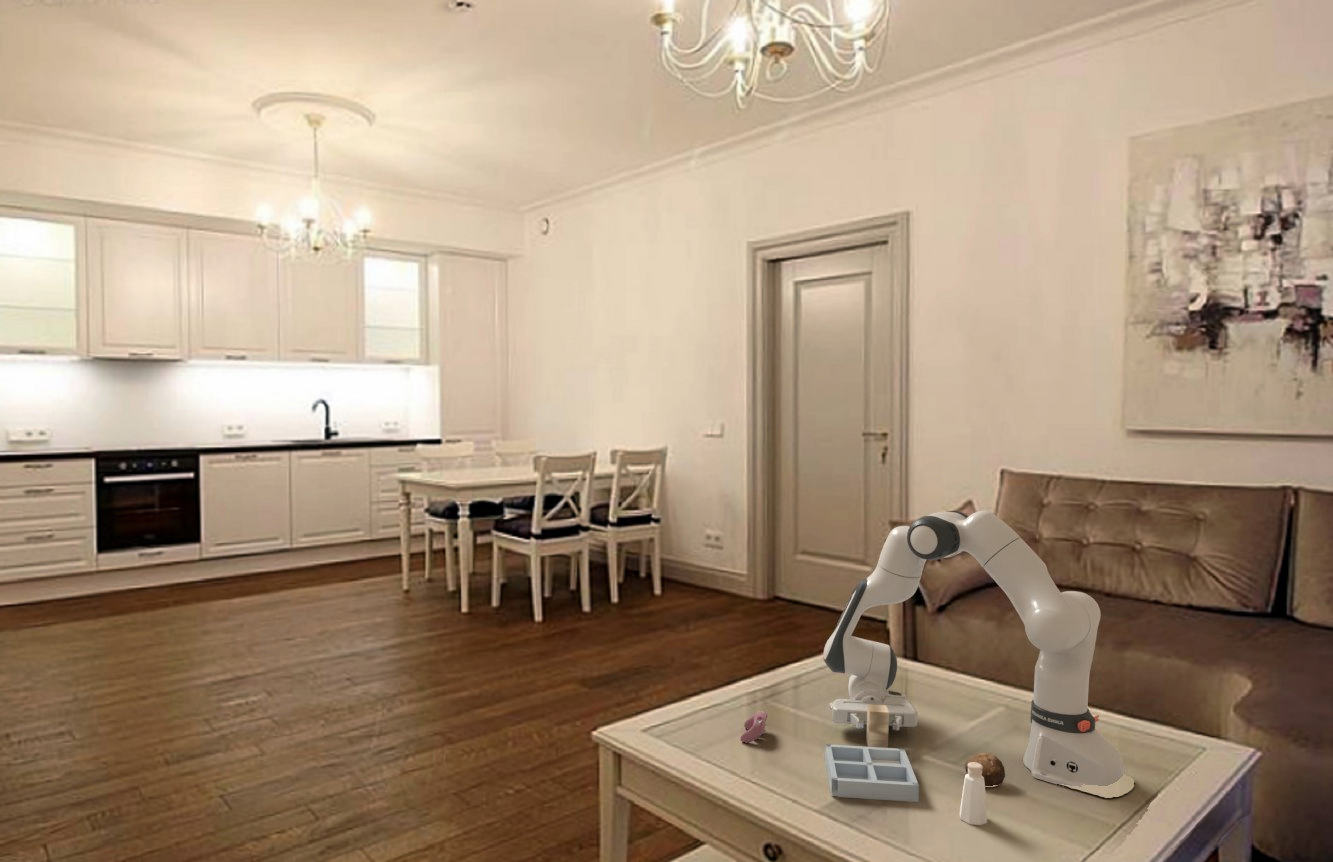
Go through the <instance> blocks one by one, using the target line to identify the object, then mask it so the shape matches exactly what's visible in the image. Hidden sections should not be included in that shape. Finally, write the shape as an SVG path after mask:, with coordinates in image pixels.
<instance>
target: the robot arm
mask: <svg viewBox="0 0 1333 862" xmlns="http://www.w3.org/2000/svg"><path fill="white" fill-rule="evenodd" d="M963 552H966V553H968V554H969V555H971V556H972V557H973V558H974V559H975V560H976V561H977V562H978V564H979V565H980V566H981V568H983V569H984V570H985V572H986V573H987V574H988V575H989V576H990V578H991V579H993V581H994V582H995V583H996V584H997V585H998V586H999V588H1001V590H1002V591H1003V592H1004V593H1005V594H1006V596H1007V598H1008V599H1009V601H1010V602H1011V604H1012V606H1013V608H1014V609H1015V611H1016V612H1017V614H1018V616H1019V618H1020V619H1021V621H1022V623H1023V625H1024V629H1025V634H1026V636H1027V638H1028V640H1029V642H1030V643H1031V644H1032V645H1033V646H1034V647H1035V648H1037V649H1039V654H1038V658H1037V661H1036V663H1035V666H1034V678H1033V679H1034V684H1033V699H1032V700H1031V703H1030V723H1031V726H1030V731H1029V732H1030V734H1029V739H1028V742H1027V743H1028V744H1027V747H1026V751H1025V753H1024V756H1023V759H1022V762H1023V764H1024V765H1025V767H1026V768H1027V769H1029V770H1030V772H1031V776H1032V777H1033V778H1034V779H1036V780H1037V779H1038V780H1041V781H1045V782H1048V783H1051V784H1054V785H1057V784H1064V785H1070V786H1079V787H1082V786H1081V785H1083V784H1085V785H1098V786H1108V785H1110V784H1113V783H1115V782H1117V781H1118V780H1119V779H1120V778H1121V777H1122V776H1123V774H1124V773H1125V770H1124V769H1125V767H1124V762H1123V757H1122V754H1121V752H1119V751H1118V749H1117V748H1116V747H1115V746H1114V745H1112V744H1111V743H1110V742H1109V741H1108V739H1106V738H1105V736H1104V735H1102V734H1101V733H1100V732H1099V731H1098V729H1096V723H1097V722H1098V721H1099V720H1100V719H1099V717H1100V715H1095V716H1093V714H1092V713H1091V711H1090V710H1089V707H1088V703H1089V687H1090V685H1089V684H1090V673H1091V667H1092V664H1093V658H1094V653H1095V649H1096V648H1095V647H1096V642H1097V635H1098V628H1099V625H1100V621H1101V615H1102V614H1101V609H1100V607H1099V604H1098V602H1097V601H1096V600H1095V599H1094V598H1093V597H1092V596H1091V595H1088V594H1087V593H1085V592H1082V591H1075V590H1067V591H1062V592H1061V591H1060V589H1059V588H1058V586H1057V585H1056V584H1055V581H1054V580H1053V579H1052V577H1051V575H1050V573H1049V571H1048V568H1047V567H1048V566H1047V565H1046V563H1045V562H1044V561H1043V560H1042V559H1041V557H1040V556H1039V555H1037V553H1036V552H1035V551H1034V550H1033V549H1032V548H1031V547H1030V546H1029V545H1028V544H1027V542H1025V541H1024V539H1023V538H1022V537H1021V536H1020V535H1019V534H1018V533H1017V532H1016V531H1015V530H1014V529H1013V528H1012V527H1011V526H1009V525H1008V523H1006V522H1004V521H1003V519H1001V518H1000V517H999V516H997V515H996V514H994V513H993V512H991V511H989V510H978V511H976V512H973V513H971V514H970V515H967V514H966V513H964V512H962V511H958V510H947V511H937V512H933V513H930V514H928V515H923V516H920V517H919V518H917V519H916V520H915V521H913V523H911V524H910V526H909V525H899V526H896V527H894V528H892V529H891V531H890V532H889V534H888V536H887V537H886V540H885V541H884V544H883V547H882V549H881V551H880V554H879V557H878V558H879V559H878V561H877V565H876V567H875V569H874V570H873V572H872V573H870V575H869V576H868V577H866V578H863V579H860V580H859V581H858V583H857V584H856V586H855V587H854V589H853V591H852V593H851V594H850V597H849V599H848V600H847V603H846V605H845V607H844V609H843V610H842V613H841V615H840V617H839V619H838V621H837V624H836V625H835V627H834V629H833V631H832V632H831V634H830V636H829V638H828V639H827V641H826V642H825V644H824V648H823V662H824V663H825V664H826V666H827V668H829V670H830V671H831V672H832V673H839V674H847V675H850V676H849V679H848V685H847V686H848V688H847V689H848V695H849V698H837V699H835V700H834V701H833V702H829V703H828V704H829V705H828V707H829V709H830V710H831V711H832V714H831V715H832V718H831V719H832V721H833V722H835V723H836V724H846V725H847V724H851V725H852V726H853V725H854V726H855V727H856V729H864V725H865V726H867V704H870V705H886V706H887V709H888V711H889V726H888V727H891V729H892V731H900V728H901V727H907V728H914V727H917V726H918V720H919V719H918V718H919V717H918V716H919V715H918V711H917V709H916V707H915V706H914V704H913V703H912V702H911V701H910V700H908V699H907V695H906V693H902V692H897V691H893V690H889V688H891V686H892V685H894V682H895V680H896V677H897V671H898V659H897V655H896V653H895V651H894V650H893V648H892V647H891V645H890V644H886V643H882V642H877V641H874V640H869V639H866V638H865V639H864V638H860V637H857V636H854V635H853V633H854V631H855V628H856V627H857V624H858V622H859V620H860V618H861V616H862V615H863V613H864V612H865V611H866V610H868V609H870V608H874V607H878V606H885V605H886V606H887V605H895V604H901V603H903V602H906V601H907V600H908V599H911V597H913V596H914V594H915V593H916V592H917V590H918V588H919V584H920V581H921V578H922V575H923V571H924V567H925V565H926V562H927V561H937V560H941V559H944V558H945V559H946V558H948V559H949V558H952V557H953V556H956V555H958V554H961V553H963Z"/></svg>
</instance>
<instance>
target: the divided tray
mask: <svg viewBox="0 0 1333 862" xmlns="http://www.w3.org/2000/svg"><path fill="white" fill-rule="evenodd" d="M824 763H825V768H826V773H827V779H828V784H829V791H830V796H831V797H832V796H838V797H837V798H850V799H851V798H852V799H863V800H864V799H865V800H878V801H879V800H881V801H895V802H909V803H911V802H913V803H919V798H920V797H919V796H920V794H919V793H920V784H919V782H918V780H917V777H916V775H915V772H914V769H913V767H912V765H911V762H910V760H909V757H908V755H907V753H906V750H905V748H893V747H888V748H880V747H868V746H862V745H861V746H859V745H846V744H845V745H844V744H830V743H829V744H827V743H826V744H825V743H824Z"/></svg>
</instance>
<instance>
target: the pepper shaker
mask: <svg viewBox="0 0 1333 862" xmlns="http://www.w3.org/2000/svg"><path fill="white" fill-rule="evenodd" d="M982 769H983V766H982V765H981V764H979V763H976V762H970V763H968V774H967V773H966V774H965V776H964V780H963V787H962V792H961V794H962V795H961V799H960V800H961V801H960V807H959V818H960V820H961V821H963V822H964V823H966V824H968V825H974V826H982V825H984V824H985V825H986V824H987V823H988V815H987V814H988V813H987V801H986V800H987V799H986V798H987V796H986V787H985V782H984V777H983V776H982Z"/></svg>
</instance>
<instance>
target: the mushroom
mask: <svg viewBox="0 0 1333 862" xmlns="http://www.w3.org/2000/svg"><path fill="white" fill-rule="evenodd" d="M970 762H976V763H979V764H981V765H982V766H983V769H982V776H983V777H984V782H985V786H993V785H998V786H1000V785H1001V784H1002V783H1003V782H1004V780H1005V778H1006V772H1005V771H1006V770H1005V766H1004V764H1003V763H1002V761H1001V759H999V758H998V756H996V755H995V754H992V753H986V752H980V753H977V754H973V755H972V756H971V757H969V758H968V759H967V761H966V763H965V764H964V768H965V773H966V774H968V763H970ZM999 784H1000V785H999Z"/></svg>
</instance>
